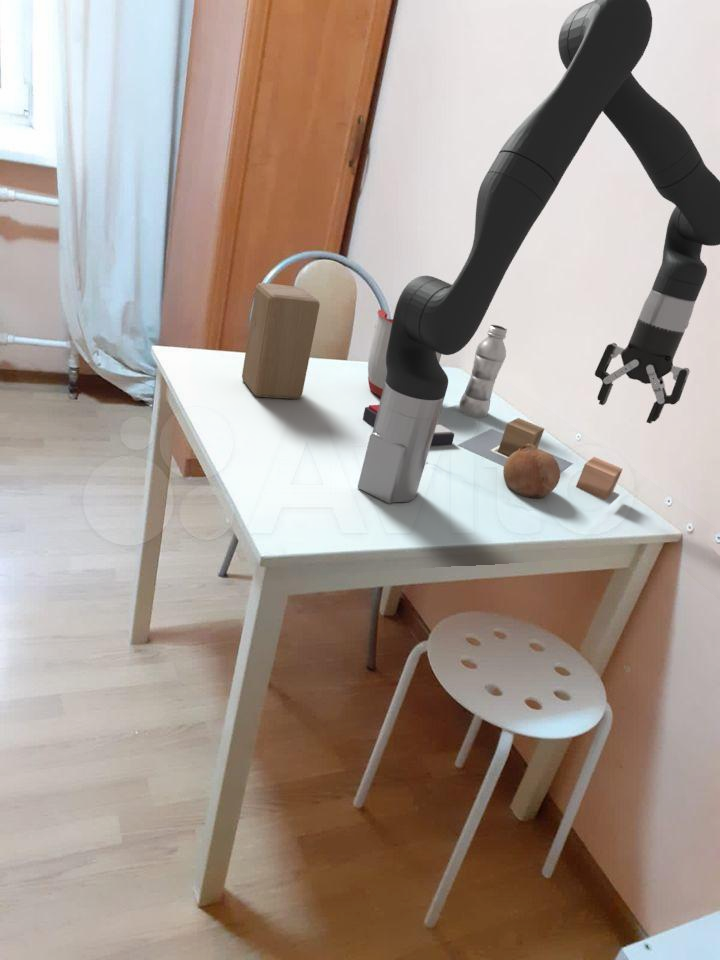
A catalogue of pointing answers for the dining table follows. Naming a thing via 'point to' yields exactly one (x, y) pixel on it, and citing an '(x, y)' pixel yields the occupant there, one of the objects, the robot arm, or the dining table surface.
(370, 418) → the calculator
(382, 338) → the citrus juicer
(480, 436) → the grey flat plate
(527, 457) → the onion
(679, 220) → the robot arm
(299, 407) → the dining table surface
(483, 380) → the plastic bottle
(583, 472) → the terracotta block
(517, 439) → the walnut block
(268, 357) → the wooden block
